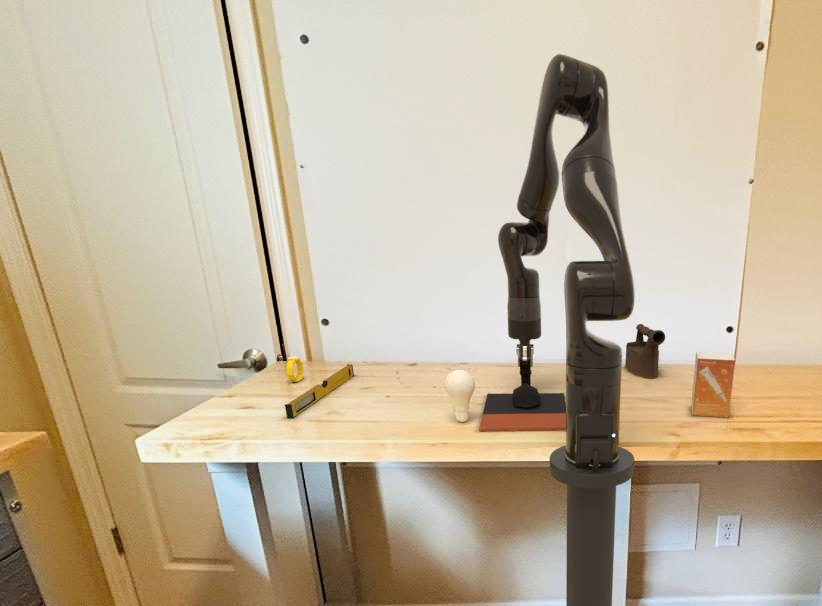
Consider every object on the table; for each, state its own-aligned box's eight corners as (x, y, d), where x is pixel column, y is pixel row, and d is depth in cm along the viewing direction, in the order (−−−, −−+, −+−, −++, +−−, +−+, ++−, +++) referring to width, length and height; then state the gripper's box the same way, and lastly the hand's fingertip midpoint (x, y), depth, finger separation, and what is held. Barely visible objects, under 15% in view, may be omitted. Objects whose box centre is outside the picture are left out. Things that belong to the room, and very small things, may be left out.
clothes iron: (640, 382, 157) (642, 330, 152) (624, 366, 171) (625, 319, 166) (669, 381, 159) (672, 330, 154) (650, 365, 173) (653, 318, 168)
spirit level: (349, 375, 156) (347, 364, 155) (354, 375, 156) (352, 364, 155) (287, 418, 126) (284, 404, 124) (293, 418, 126) (291, 404, 124)
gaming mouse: (537, 390, 146) (536, 374, 145) (541, 409, 133) (541, 391, 131) (510, 390, 145) (510, 374, 144) (512, 410, 132) (512, 392, 130)
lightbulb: (483, 420, 127) (480, 369, 123) (463, 428, 122) (459, 375, 118) (461, 415, 130) (458, 365, 126) (441, 422, 125) (436, 371, 121)
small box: (692, 416, 133) (697, 357, 128) (690, 407, 139) (695, 351, 134) (729, 418, 132) (735, 359, 127) (726, 409, 138) (732, 352, 133)
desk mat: (569, 430, 123) (569, 427, 123) (479, 431, 121) (479, 428, 121) (563, 395, 145) (563, 392, 145) (487, 395, 143) (487, 393, 143)
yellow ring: (297, 384, 148) (293, 360, 146) (286, 384, 148) (281, 360, 146) (307, 377, 154) (303, 354, 151) (296, 377, 154) (292, 354, 151)
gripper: (541, 321, 131) (542, 398, 137) (540, 311, 143) (541, 382, 149) (506, 321, 130) (509, 398, 137) (508, 311, 142) (511, 382, 149)
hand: (526, 390), depth 143 cm, fingers closed
